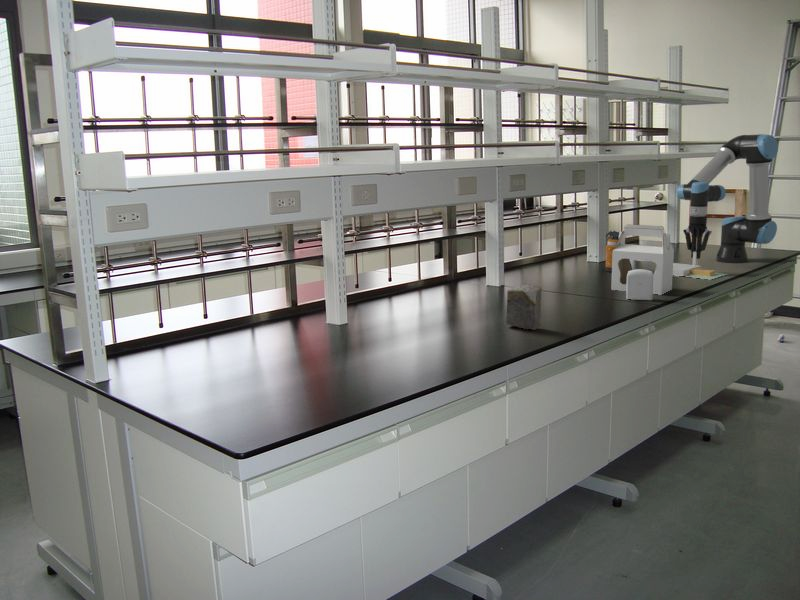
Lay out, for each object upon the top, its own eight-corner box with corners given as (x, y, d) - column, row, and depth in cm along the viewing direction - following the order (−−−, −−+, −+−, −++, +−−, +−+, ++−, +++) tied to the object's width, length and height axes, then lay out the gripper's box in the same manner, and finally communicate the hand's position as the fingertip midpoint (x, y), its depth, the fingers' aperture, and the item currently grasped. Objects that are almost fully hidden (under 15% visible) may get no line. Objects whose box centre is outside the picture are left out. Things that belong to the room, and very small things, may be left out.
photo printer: (625, 300, 296) (626, 270, 293) (625, 297, 300) (627, 268, 297) (652, 301, 293) (654, 270, 290) (652, 299, 297) (653, 268, 294)
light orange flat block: (691, 274, 346) (691, 270, 346) (697, 272, 350) (697, 268, 350) (709, 276, 340) (710, 272, 339) (715, 274, 344) (715, 270, 343)
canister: (612, 273, 355) (614, 232, 351) (598, 270, 365) (600, 230, 361) (628, 272, 358) (629, 231, 354) (613, 268, 368) (615, 229, 364)
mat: (702, 272, 353) (702, 271, 353) (727, 274, 345) (727, 274, 345) (685, 277, 341) (685, 276, 341) (710, 280, 333) (710, 279, 333)
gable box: (610, 290, 317) (612, 225, 311) (622, 285, 327) (624, 222, 321) (662, 295, 303) (665, 228, 297) (672, 290, 313) (676, 225, 307)
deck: (673, 268, 364) (673, 262, 364) (700, 271, 354) (701, 265, 353) (655, 273, 352) (655, 267, 352) (683, 277, 342) (683, 270, 342)
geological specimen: (505, 328, 256) (506, 285, 253) (513, 324, 261) (513, 283, 258) (534, 331, 250) (534, 288, 247) (541, 327, 255) (542, 285, 252)
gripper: (681, 215, 345) (678, 264, 349) (708, 216, 335) (705, 267, 340) (688, 214, 350) (685, 262, 354) (715, 215, 340) (712, 265, 345)
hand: (695, 265), depth 347 cm, fingers closed
